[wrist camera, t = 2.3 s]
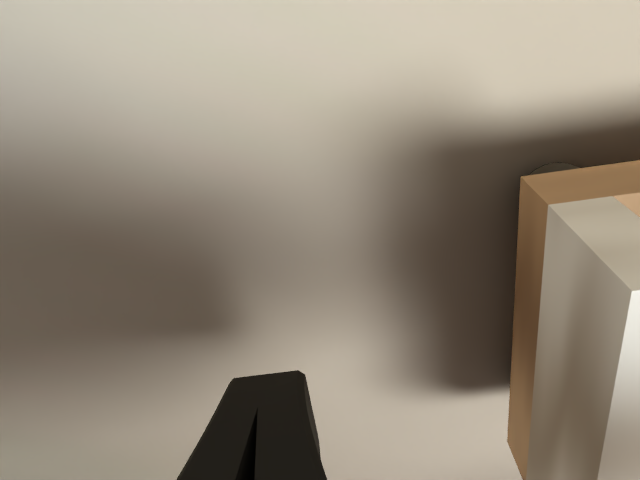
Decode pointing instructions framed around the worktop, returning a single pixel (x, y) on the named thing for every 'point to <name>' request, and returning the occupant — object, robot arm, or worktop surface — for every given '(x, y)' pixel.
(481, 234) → the worktop surface
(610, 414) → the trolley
